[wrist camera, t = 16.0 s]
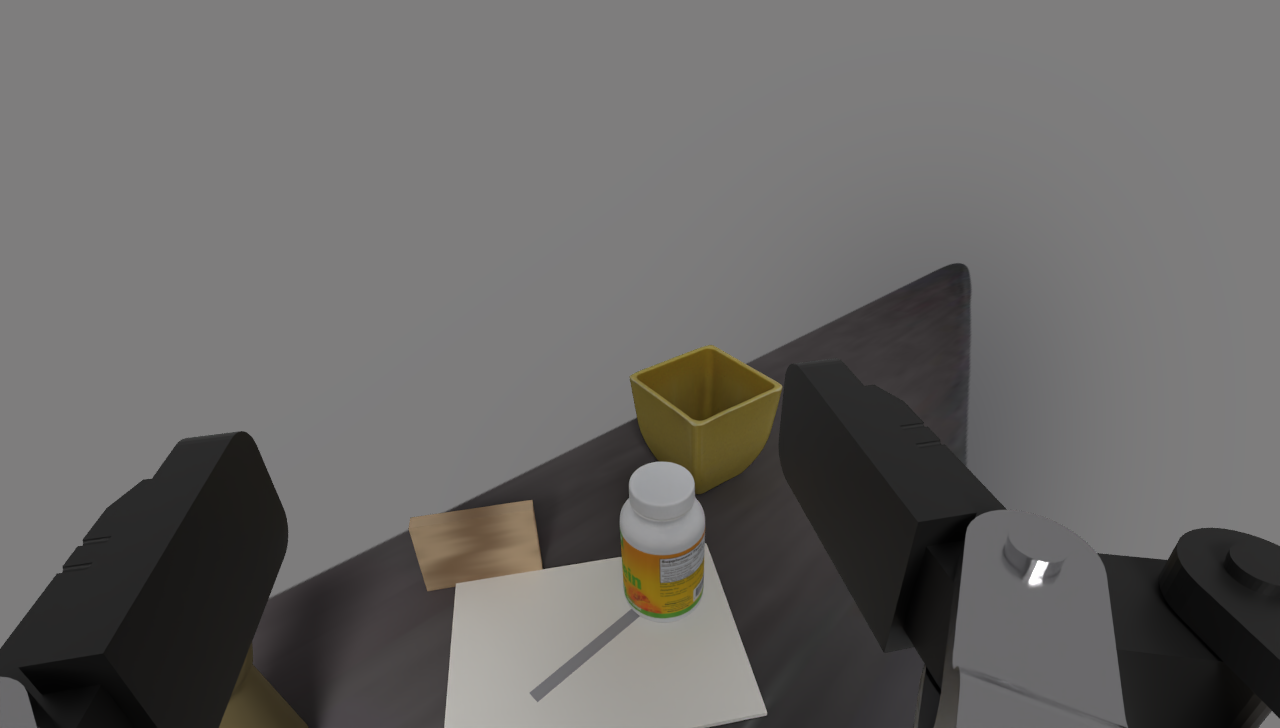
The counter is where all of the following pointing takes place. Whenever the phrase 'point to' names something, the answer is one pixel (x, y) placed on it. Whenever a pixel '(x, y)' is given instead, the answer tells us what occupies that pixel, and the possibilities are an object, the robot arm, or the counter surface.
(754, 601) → the counter surface
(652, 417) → the flower pot
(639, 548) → the supplement bottle
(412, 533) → the wooden block
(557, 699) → the paper
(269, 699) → the olive chess pawn
